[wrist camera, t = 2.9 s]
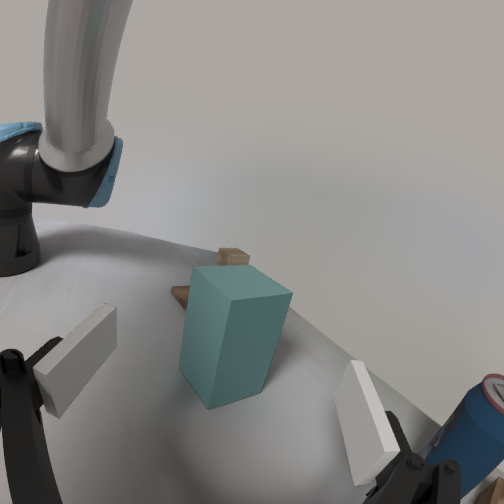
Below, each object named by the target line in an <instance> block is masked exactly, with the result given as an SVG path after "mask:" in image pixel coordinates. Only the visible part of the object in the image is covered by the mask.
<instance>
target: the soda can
mask: <svg viewBox="0 0 504 504" xmlns="http://www.w3.org/2000/svg"><path fill="white" fill-rule="evenodd" d="M419 456H421V457H422V458H423V459H424V461H425V463H428V464H436V465H438V464H439V463H440V462H441V461H442V460H443V459H446V458H448V459H453V460H455V461H456V462H457V463H458V464H459V466H460V469H461V499H462V498H463V497H464V496H465V495H467V494H468V493H469V492H470V491H471V490H472V489H474V488H475V487H476V486H477V485H478V484H479V483H480V482H481V481H482V480H483V479H485V478H486V477H487V476H488V475H489V474H490V473H491V472H492V471H493V470H494V469H495V468H496V467H497V466H498V465H499V464H500V463H501V462H502V461H503V459H504V376H503V375H500V374H488V375H487V376H485V377H484V379H483V381H482V382H481V383H479V384H478V385H476V386H475V387H473V388H472V389H470V390H469V391H468V392H467V394H466V395H465V396H464V398H463V399H462V401H461V402H460V404H459V405H458V407H457V408H456V409H455V411H454V412H453V413H452V415H451V416H450V417H449V419H448V420H447V421H446V423H445V424H444V425H443V426H442V428H441V429H440V430H439V431H438V433H437V434H436V435H435V436H434V437H433V439H432V440H431V441H430V442H429V443H428V444H427V446H426V447H425V448H424V449H423V450H422V451H421V452H420V453H419Z"/></svg>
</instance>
